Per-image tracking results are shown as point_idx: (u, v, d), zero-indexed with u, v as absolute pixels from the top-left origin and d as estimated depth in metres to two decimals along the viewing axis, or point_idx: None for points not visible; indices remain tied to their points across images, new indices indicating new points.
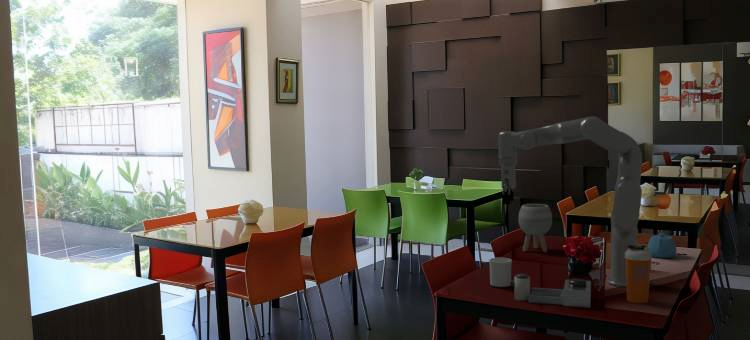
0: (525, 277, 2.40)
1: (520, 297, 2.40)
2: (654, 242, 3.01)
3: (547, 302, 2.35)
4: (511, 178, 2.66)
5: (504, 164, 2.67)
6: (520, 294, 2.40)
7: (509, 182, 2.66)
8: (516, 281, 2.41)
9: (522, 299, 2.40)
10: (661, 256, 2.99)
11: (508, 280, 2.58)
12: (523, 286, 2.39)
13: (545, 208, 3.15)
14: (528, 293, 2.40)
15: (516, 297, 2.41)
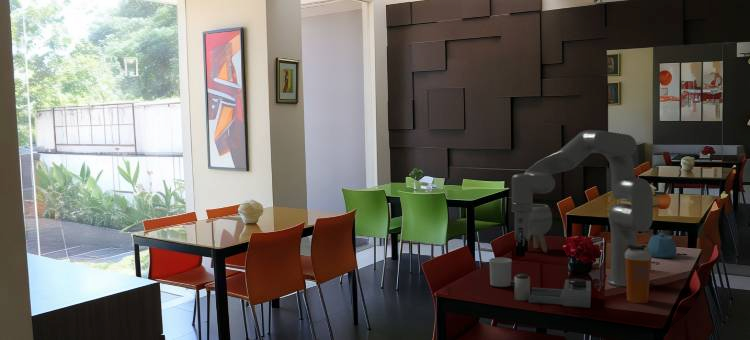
0: (525, 277, 2.40)
1: (520, 297, 2.40)
2: (654, 242, 3.01)
3: (547, 302, 2.35)
4: (526, 227, 2.35)
5: (518, 211, 2.37)
6: (520, 294, 2.40)
7: (523, 232, 2.35)
8: (516, 281, 2.41)
9: (522, 299, 2.40)
10: (661, 256, 2.99)
11: (508, 280, 2.58)
12: (523, 286, 2.39)
13: (545, 208, 3.15)
14: (528, 293, 2.40)
15: (516, 297, 2.41)
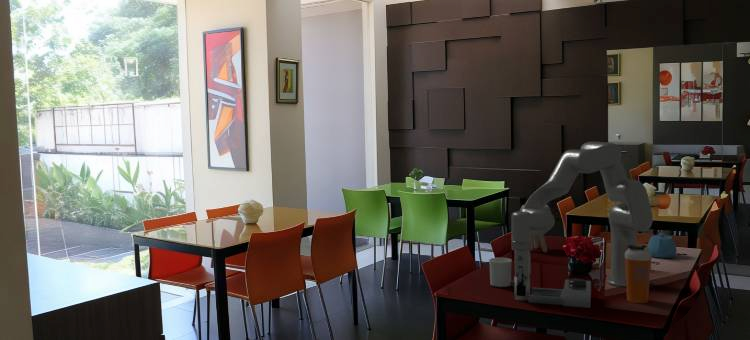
0: (525, 277, 2.40)
1: (520, 297, 2.40)
2: (654, 242, 3.01)
3: (547, 302, 2.35)
4: (526, 266, 2.36)
5: (518, 249, 2.38)
6: None
7: (523, 270, 2.36)
8: (516, 281, 2.41)
9: (522, 299, 2.40)
10: (661, 256, 2.99)
11: (508, 280, 2.58)
12: None
13: (545, 208, 3.15)
14: (528, 293, 2.40)
15: (516, 297, 2.41)
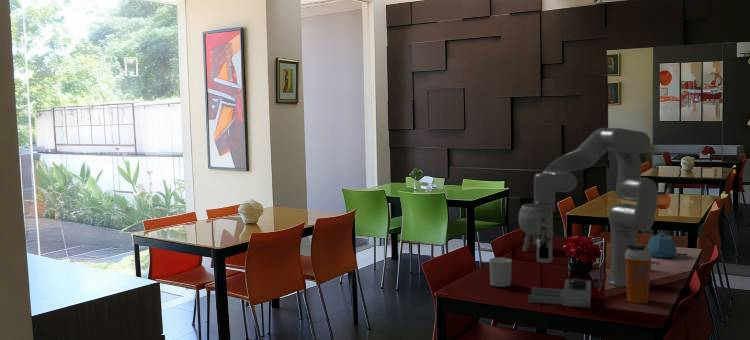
0: (548, 239, 2.37)
1: (542, 259, 2.37)
2: (654, 242, 3.01)
3: (547, 302, 2.35)
4: (549, 227, 2.33)
5: (541, 211, 2.35)
6: None
7: (547, 232, 2.33)
8: (538, 243, 2.38)
9: (544, 261, 2.37)
10: (661, 256, 2.99)
11: (508, 280, 2.58)
12: None
13: None
14: (551, 255, 2.37)
15: (538, 259, 2.38)
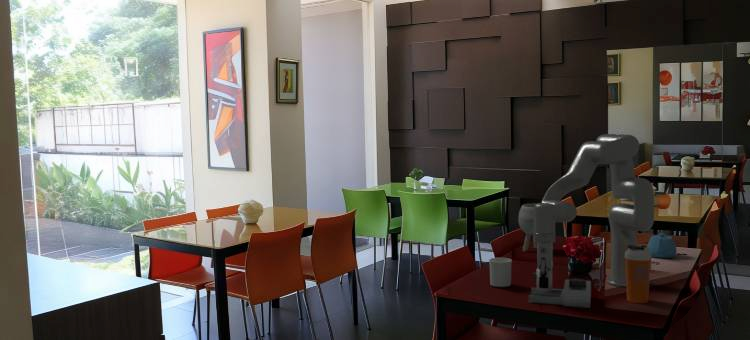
0: (548, 269, 2.38)
1: (542, 289, 2.38)
2: (654, 242, 3.01)
3: (547, 302, 2.35)
4: (549, 257, 2.34)
5: (541, 241, 2.36)
6: None
7: (547, 262, 2.34)
8: (538, 273, 2.39)
9: (544, 291, 2.38)
10: (661, 256, 2.99)
11: (508, 280, 2.58)
12: None
13: None
14: (550, 285, 2.38)
15: (538, 289, 2.39)
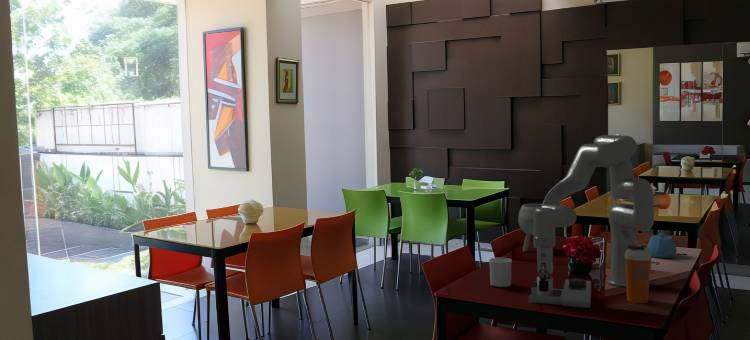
0: (548, 278, 2.38)
1: None
2: (654, 242, 3.01)
3: (547, 302, 2.35)
4: (549, 262, 2.34)
5: (541, 246, 2.36)
6: (543, 295, 2.38)
7: (547, 267, 2.34)
8: None
9: None
10: (661, 256, 2.99)
11: (508, 280, 2.58)
12: None
13: None
14: (551, 294, 2.39)
15: None
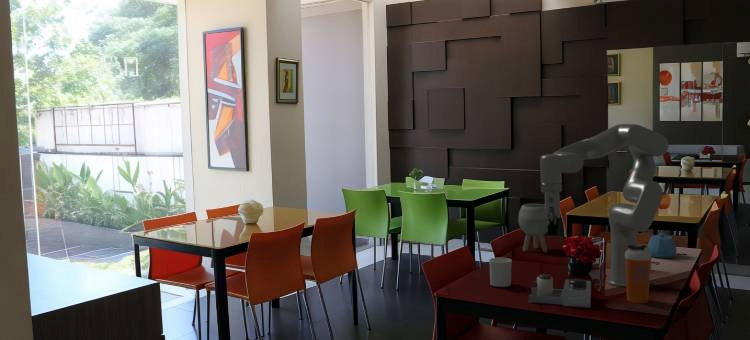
0: (548, 278, 2.38)
1: None
2: (654, 242, 3.01)
3: (547, 302, 2.35)
4: (557, 206, 2.41)
5: (548, 191, 2.43)
6: (543, 295, 2.38)
7: (555, 211, 2.41)
8: (539, 282, 2.39)
9: None
10: (661, 256, 2.99)
11: (508, 280, 2.58)
12: (546, 286, 2.38)
13: None
14: (551, 294, 2.39)
15: None
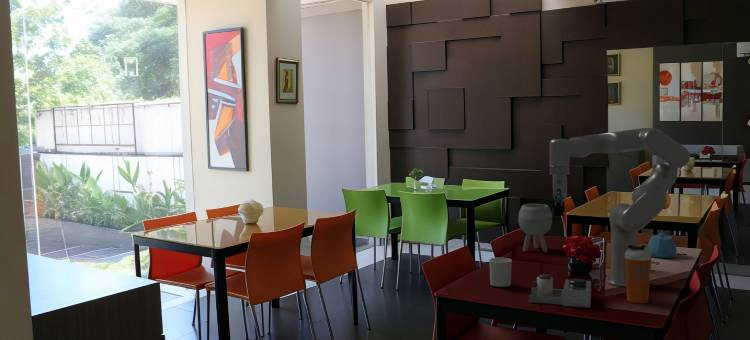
0: (548, 278, 2.38)
1: None
2: (654, 242, 3.01)
3: (547, 302, 2.35)
4: (564, 188, 2.52)
5: (556, 173, 2.53)
6: (543, 295, 2.38)
7: (562, 193, 2.52)
8: (539, 282, 2.39)
9: None
10: (661, 256, 2.99)
11: (508, 280, 2.58)
12: (546, 286, 2.38)
13: (545, 208, 3.15)
14: (551, 294, 2.39)
15: None
